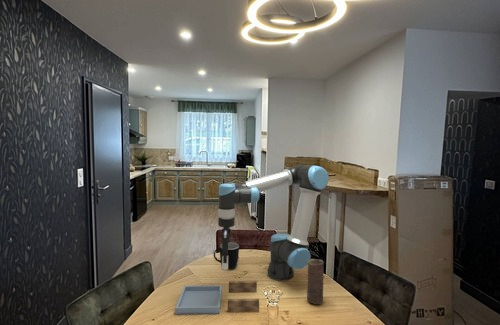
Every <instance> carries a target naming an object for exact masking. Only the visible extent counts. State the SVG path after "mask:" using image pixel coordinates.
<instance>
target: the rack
mask: <svg viewBox="0 0 500 325" xmlns="http://www.w3.org/2000/svg"><path fill="white" fill-rule="evenodd" d="M257 284H258V282H257V280H248V281H247V280H246V281H245V280H243V281H242V280H241V281H232V280H231V281H230V280H229V281H228V293H231V294H232V293H234V294H235V293H237V294H238V293H239V294H241V293H257V289H258V286H257ZM246 312H247V313H249V312H250V313H251V312H255V313H256V312H260V299H259V298H228V299H227V313H246Z"/></svg>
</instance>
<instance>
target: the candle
mask: <svg viewBox="0 0 500 325" xmlns="http://www.w3.org/2000/svg"><path fill="white" fill-rule="evenodd" d="M324 263H325V262H324V261H323V260H322V259H319V258H317V259H315V258H310V260H309V261H308V264H307V283H306V284H307V286H306V287H307V289H306V291H307V292H306V299H307V300H306V301H308V302H310V303H311V304H313V305H314V304H315V305H318V304H319V305H320V304H323V301H324Z"/></svg>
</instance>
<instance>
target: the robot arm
mask: <svg viewBox="0 0 500 325" xmlns="http://www.w3.org/2000/svg"><path fill="white" fill-rule="evenodd" d="M329 179H330V178H329V173H328V172H327V170H326V169H325V168H324V167H322V166H318V165H313V164H312V165H311V164H299V165H294V166H291V167H288V168H284V169H283V170H282V171H281V172H280V171H279V172H277V173H272V174H268V175H264V176H261V177H257V178H254V179H249V180H246V181H241V182H233V183H221V184H219V187H218V209H217V211H216V212H217V213H218V220H217V222H218V224H217V226H218V227H220V228H221V229H222V230H221V240H222V241H221V242H222V243H221V244H222V254H221V256H222V265H221V270H223V271H224V270H225V271H227V270H228V243H229V242H230V237H231V230H232V229H231V228H232V227H234V226H235V223H236V222H235V220H236V219H235V215H236V213H235V212H236V205H241V204H254V203H258V202H259V200H260V193H261V192H265V191H269V190H272V189H275V188H276V189H277V188H279V187H283V186H286V185H287V186H288V187H289V186H293V185H299V186H298V189H299V190H300V194H299V199H298V204H297V208H296V210H295V216H294V218H293V219H294V220H293V224H292V228H291V232H290V234H289V233H275V234H273V235H271V236H270V260H269V264H268V266H267V270H266V272H267V277H269V278H270V279H272V280H275V281H288V280H291V279H293V278H294V276H295V271H294V269H295V270H302V269H304V268H305V267H306V266H307V267H308V261H309V260H310V259H312V258H311V257H312V255H311V253H310V250H308V249H309V245H310V244H309V242H308V237H309V236H308V235H309V232H310V227H311V223H312V219H313V216H314V211H315V205H316V202H317V197H318V196H319V195H320V194H321V193H322V190H323V189H325V188H326V187H327V186H328V183H329ZM228 271H229V270H228Z"/></svg>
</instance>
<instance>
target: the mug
mask: <svg viewBox="0 0 500 325" xmlns="http://www.w3.org/2000/svg"><path fill="white" fill-rule="evenodd" d="M218 251H219V258H220V259H218V257H217V256H216V252H218ZM239 251H240V245H239V244H238V243H236V242H232V241H231V242H229V243H228V271H230V270H234V269H236V268H237V266H238V265H237V262H238V255H239V253H240V252H239ZM221 254H222V243H221V244H219V247H218V248H216V249H215V250H214V252H213V258H214V260H215V261H216V262H218V263H220V264H221V266H222V256H221ZM239 256H240V255H239ZM238 263H239V262H238Z"/></svg>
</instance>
